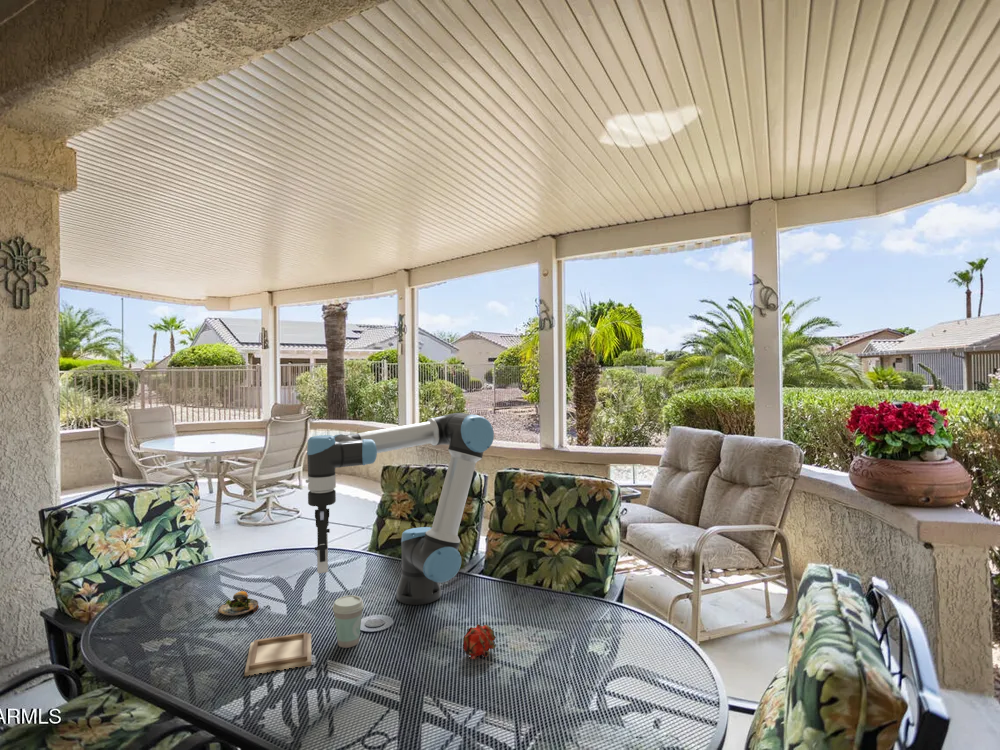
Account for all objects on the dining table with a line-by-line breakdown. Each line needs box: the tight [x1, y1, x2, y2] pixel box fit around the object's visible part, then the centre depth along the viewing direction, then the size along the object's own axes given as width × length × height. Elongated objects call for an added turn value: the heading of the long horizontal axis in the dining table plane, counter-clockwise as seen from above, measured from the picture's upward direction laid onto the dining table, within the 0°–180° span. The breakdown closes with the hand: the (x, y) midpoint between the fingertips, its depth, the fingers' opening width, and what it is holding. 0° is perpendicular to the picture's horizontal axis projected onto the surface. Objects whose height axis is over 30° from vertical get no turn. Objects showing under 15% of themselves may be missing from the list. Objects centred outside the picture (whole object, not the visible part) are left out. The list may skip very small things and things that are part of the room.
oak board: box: [244, 632, 312, 677], centre depth 148 cm, size 16×16×2 cm
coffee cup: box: [332, 594, 365, 649], centre depth 155 cm, size 8×8×12 cm
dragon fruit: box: [462, 623, 497, 661], centre depth 148 cm, size 8×8×12 cm
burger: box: [217, 586, 260, 616], centre depth 175 cm, size 12×12×8 cm
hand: (322, 564), depth 155 cm, fingers open, 13 cm apart
